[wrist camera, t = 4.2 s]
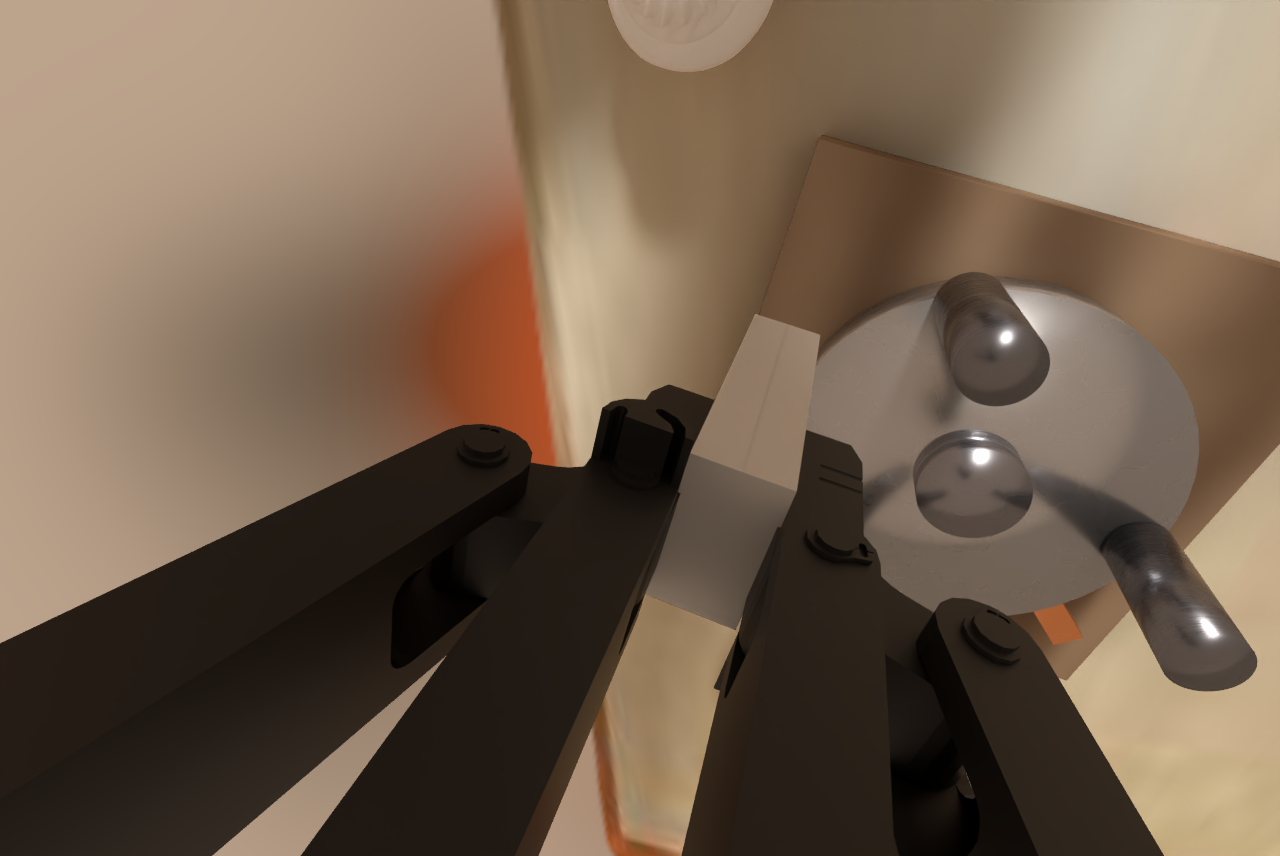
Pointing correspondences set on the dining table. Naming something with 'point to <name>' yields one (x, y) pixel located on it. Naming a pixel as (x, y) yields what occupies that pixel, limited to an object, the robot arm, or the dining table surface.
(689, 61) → the muffin
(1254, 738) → the dining table surface
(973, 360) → the capstan
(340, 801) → the robot arm
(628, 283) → the dining table surface
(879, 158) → the stand
